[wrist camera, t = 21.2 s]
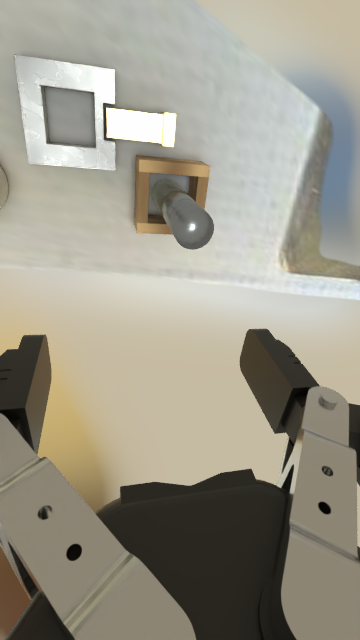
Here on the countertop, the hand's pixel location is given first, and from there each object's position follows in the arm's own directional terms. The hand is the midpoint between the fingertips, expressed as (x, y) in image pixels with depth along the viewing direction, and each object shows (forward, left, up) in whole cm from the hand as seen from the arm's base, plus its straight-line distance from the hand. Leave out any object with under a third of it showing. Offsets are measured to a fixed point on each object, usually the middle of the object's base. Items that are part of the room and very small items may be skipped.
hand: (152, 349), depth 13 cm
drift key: (+2, +7, -32) cm, 33 cm away
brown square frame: (+6, 0, -32) cm, 33 cm away
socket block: (-5, +7, -32) cm, 33 cm away
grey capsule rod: (+6, 0, -32) cm, 33 cm away
